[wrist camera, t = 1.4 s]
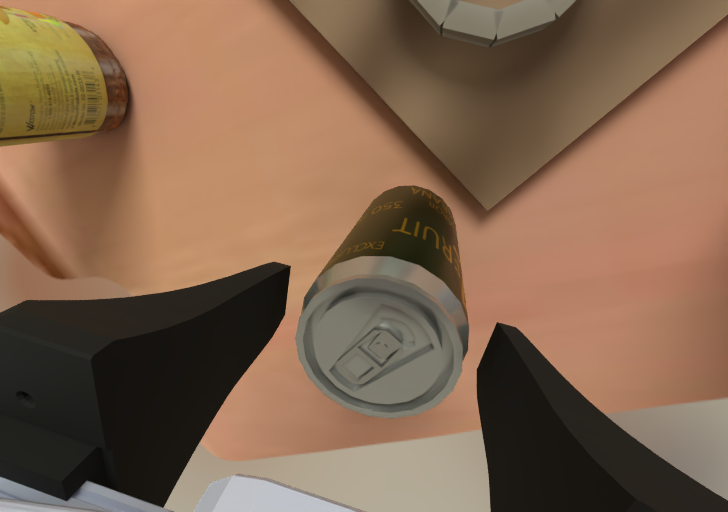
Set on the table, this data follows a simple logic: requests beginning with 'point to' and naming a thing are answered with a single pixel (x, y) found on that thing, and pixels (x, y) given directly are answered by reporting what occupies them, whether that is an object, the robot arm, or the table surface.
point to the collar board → (506, 70)
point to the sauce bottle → (55, 80)
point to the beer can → (389, 310)
